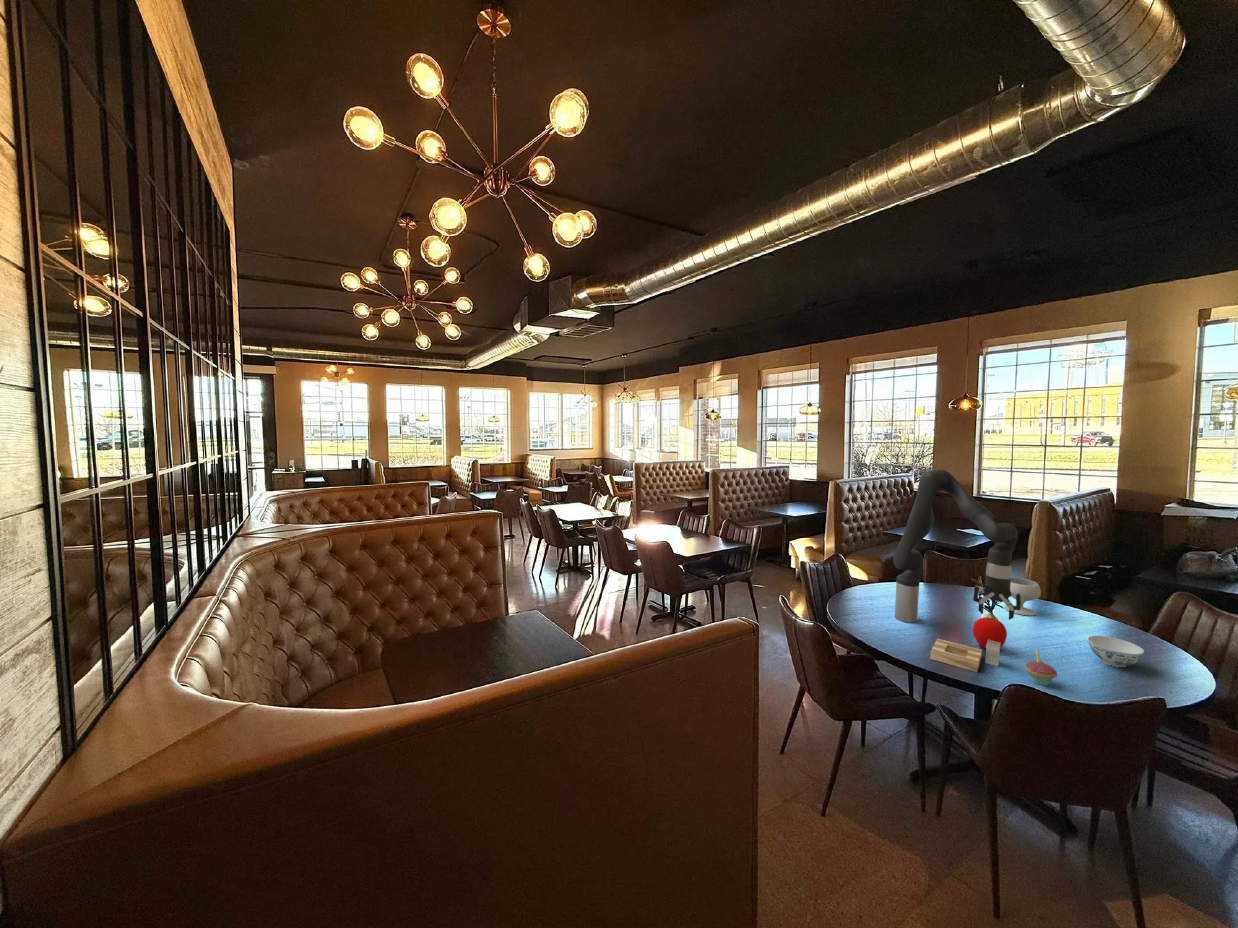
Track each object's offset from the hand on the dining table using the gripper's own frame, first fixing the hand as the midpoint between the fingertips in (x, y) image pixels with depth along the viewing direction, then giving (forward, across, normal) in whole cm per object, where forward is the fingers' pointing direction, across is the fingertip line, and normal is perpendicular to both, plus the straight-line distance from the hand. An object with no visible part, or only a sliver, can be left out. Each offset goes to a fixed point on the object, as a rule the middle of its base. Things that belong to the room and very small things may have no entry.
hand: (995, 615), depth 184 cm
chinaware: (+19, -35, -30) cm, 50 cm away
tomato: (+19, +2, -14) cm, 24 cm away
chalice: (+19, -6, -71) cm, 74 cm away
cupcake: (+19, -14, +6) cm, 24 cm away
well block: (+19, +11, +5) cm, 22 cm away
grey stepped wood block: (+19, 0, 0) cm, 19 cm away
